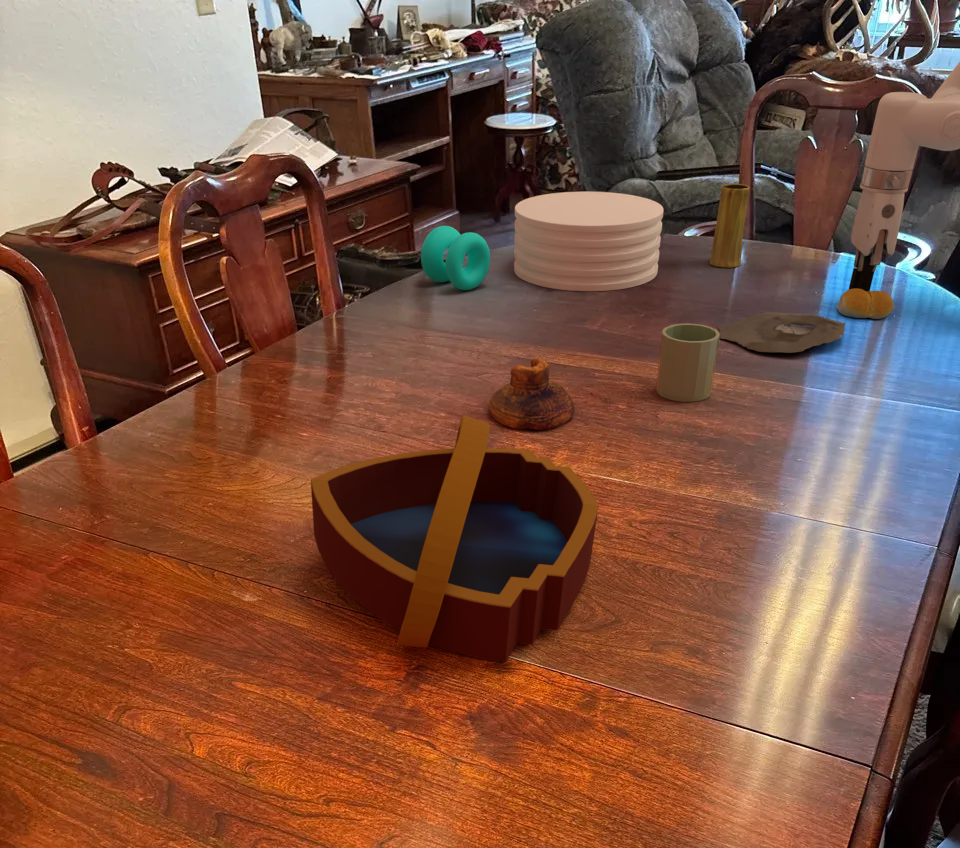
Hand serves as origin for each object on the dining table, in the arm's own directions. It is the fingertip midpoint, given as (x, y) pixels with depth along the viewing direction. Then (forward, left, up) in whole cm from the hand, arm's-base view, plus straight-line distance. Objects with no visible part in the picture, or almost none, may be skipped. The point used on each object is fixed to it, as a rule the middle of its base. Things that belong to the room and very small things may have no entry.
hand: (858, 292), depth 168 cm
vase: (+18, -26, -2) cm, 32 cm away
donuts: (+71, -12, -2) cm, 72 cm away
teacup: (+36, +40, -2) cm, 54 cm away
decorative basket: (+67, +88, -2) cm, 111 cm away
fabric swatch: (+17, +16, -2) cm, 24 cm away
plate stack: (+46, -22, -2) cm, 51 cm away
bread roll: (0, +5, -2) cm, 6 cm away
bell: (+58, +48, -2) cm, 76 cm away
